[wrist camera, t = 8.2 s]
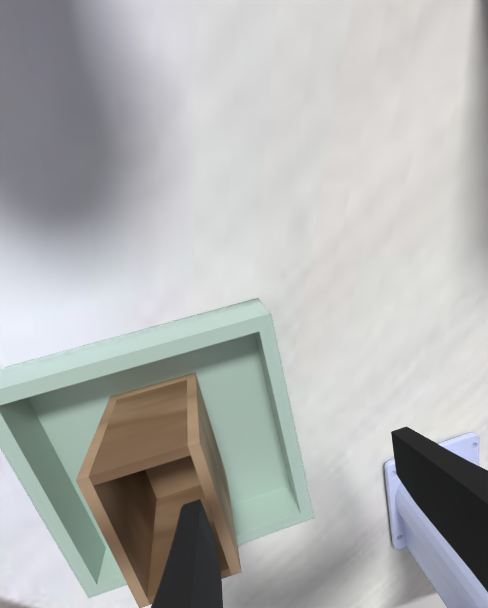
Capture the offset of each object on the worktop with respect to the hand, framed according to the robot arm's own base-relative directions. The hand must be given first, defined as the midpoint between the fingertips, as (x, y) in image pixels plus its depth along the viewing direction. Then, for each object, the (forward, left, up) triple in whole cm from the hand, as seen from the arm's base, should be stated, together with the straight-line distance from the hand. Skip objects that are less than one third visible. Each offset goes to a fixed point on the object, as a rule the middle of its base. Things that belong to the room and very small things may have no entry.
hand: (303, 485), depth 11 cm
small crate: (-3, +6, -9) cm, 11 cm away
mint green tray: (-3, +6, -9) cm, 12 cm away
